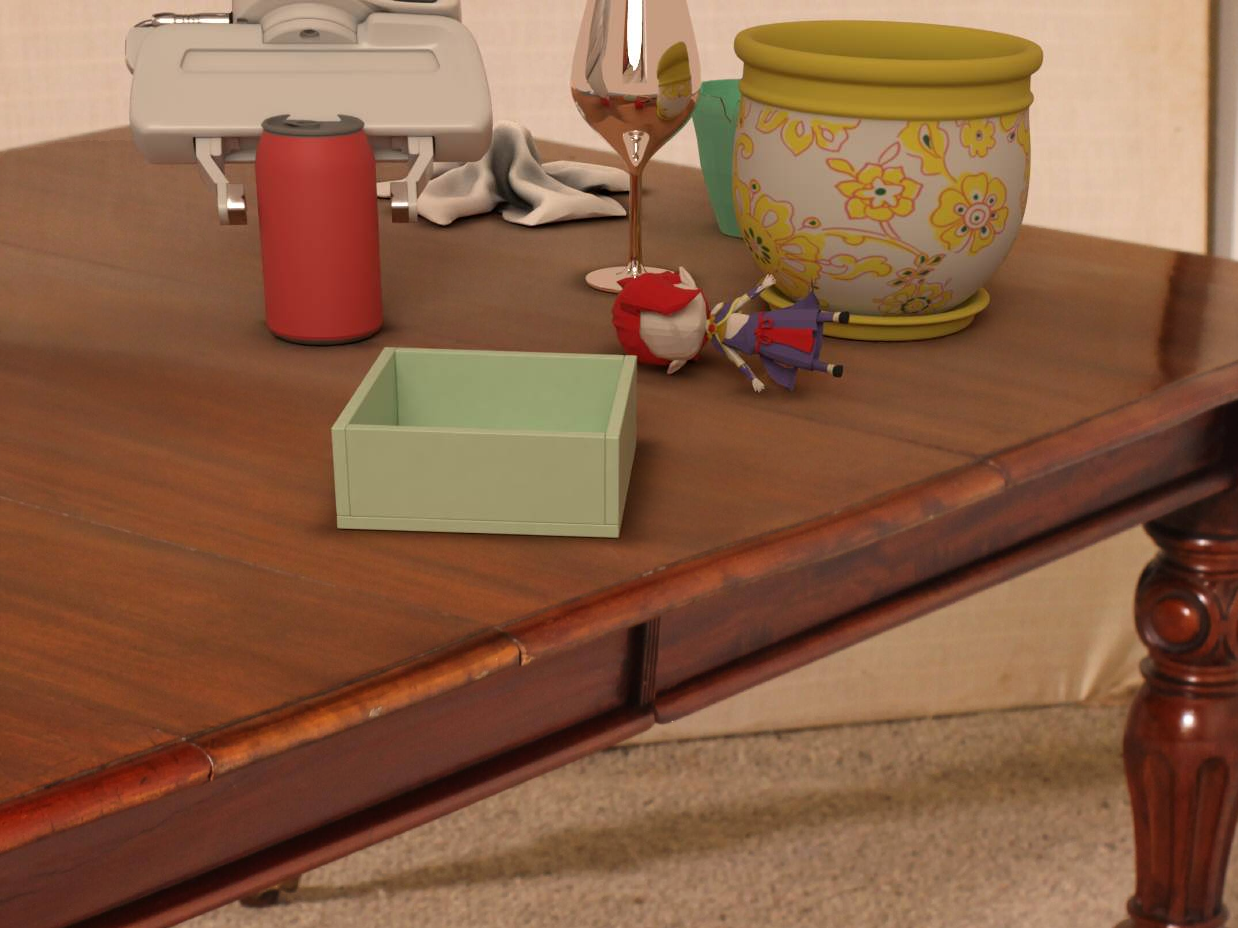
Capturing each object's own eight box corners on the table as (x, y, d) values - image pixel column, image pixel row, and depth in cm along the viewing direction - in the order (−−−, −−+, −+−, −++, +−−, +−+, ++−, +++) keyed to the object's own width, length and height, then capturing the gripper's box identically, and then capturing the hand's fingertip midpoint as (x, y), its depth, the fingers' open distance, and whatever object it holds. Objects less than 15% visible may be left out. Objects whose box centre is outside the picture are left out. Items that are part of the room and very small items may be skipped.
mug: (694, 247, 131) (698, 100, 127) (678, 216, 140) (681, 77, 136) (900, 247, 133) (910, 102, 129) (872, 216, 142) (880, 80, 138)
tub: (337, 528, 82) (331, 427, 80) (388, 437, 93) (384, 346, 91) (618, 538, 82) (619, 437, 80) (636, 445, 93) (637, 355, 91)
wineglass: (545, 279, 122) (542, -13, 114) (639, 260, 127) (641, -20, 120) (630, 305, 117) (632, 1, 109) (724, 284, 122) (732, -7, 115)
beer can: (309, 311, 113) (295, 107, 108) (405, 326, 111) (396, 117, 106) (244, 339, 107) (226, 124, 102) (343, 354, 105) (331, 136, 100)
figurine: (815, 408, 97) (558, 369, 102) (869, 399, 104) (627, 363, 110) (830, 282, 95) (568, 249, 101) (883, 282, 103) (637, 251, 108)
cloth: (638, 178, 152) (639, 100, 150) (648, 230, 135) (648, 143, 133) (358, 173, 150) (354, 94, 148) (332, 226, 133) (327, 137, 131)
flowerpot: (894, 375, 105) (915, 71, 98) (665, 309, 116) (669, 32, 109) (1075, 318, 117) (1104, 45, 110) (852, 264, 128) (867, 12, 121)
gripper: (116, -23, 106) (118, 189, 101) (484, -19, 109) (501, 185, 105) (132, 48, 111) (134, 251, 107) (480, 50, 115) (497, 245, 111)
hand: (319, 218), depth 106 cm, fingers open, 8 cm apart
